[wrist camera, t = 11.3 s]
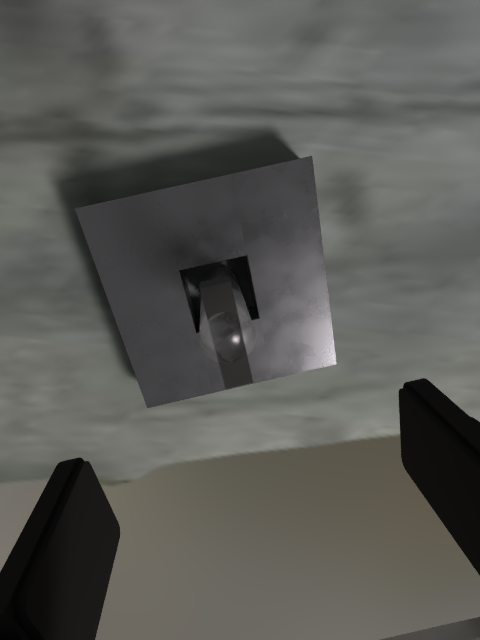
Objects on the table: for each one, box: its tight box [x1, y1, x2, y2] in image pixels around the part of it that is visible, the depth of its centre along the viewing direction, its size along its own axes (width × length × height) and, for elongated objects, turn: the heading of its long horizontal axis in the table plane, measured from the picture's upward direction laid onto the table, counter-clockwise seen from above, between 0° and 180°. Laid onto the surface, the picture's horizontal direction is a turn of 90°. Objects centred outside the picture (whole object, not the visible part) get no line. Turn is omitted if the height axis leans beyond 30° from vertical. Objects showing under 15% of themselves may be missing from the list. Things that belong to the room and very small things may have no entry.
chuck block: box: [75, 156, 336, 408], centre depth 28 cm, size 16×16×3 cm
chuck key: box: [199, 267, 256, 389], centre depth 24 cm, size 3×6×11 cm, turn 12°
